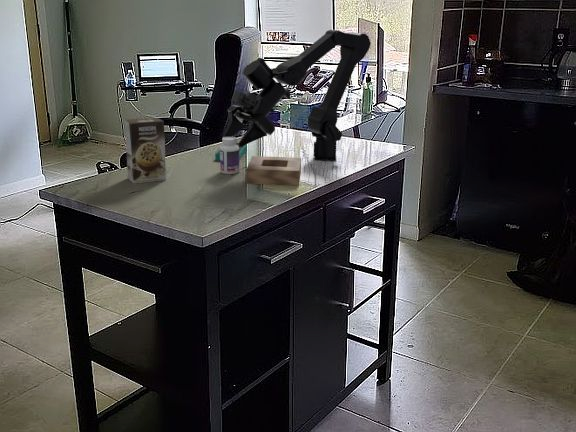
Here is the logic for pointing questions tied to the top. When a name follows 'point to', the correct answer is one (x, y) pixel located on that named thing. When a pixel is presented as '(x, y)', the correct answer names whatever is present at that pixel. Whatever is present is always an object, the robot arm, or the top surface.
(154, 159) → the cookie box
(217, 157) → the digital multimeter
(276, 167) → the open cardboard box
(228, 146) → the pill bottle
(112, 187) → the top surface
